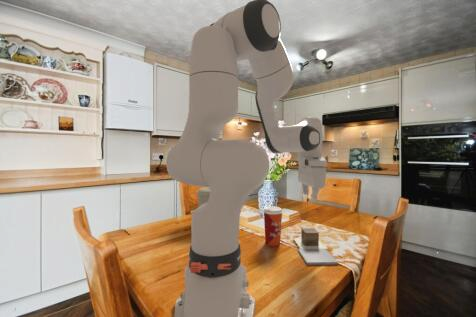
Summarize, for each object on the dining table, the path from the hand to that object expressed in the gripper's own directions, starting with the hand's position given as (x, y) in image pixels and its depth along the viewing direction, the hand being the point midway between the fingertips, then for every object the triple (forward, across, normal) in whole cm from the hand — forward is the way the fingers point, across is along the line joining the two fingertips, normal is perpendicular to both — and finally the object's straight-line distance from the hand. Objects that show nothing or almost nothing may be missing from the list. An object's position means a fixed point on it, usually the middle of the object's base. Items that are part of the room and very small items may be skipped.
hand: (309, 196), depth 87 cm
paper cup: (+19, -2, -14) cm, 24 cm away
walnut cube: (+18, 0, 0) cm, 18 cm away
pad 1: (+19, 0, 0) cm, 19 cm away
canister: (+19, -27, -39) cm, 51 cm away
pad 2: (+19, +10, -1) cm, 21 cm away
